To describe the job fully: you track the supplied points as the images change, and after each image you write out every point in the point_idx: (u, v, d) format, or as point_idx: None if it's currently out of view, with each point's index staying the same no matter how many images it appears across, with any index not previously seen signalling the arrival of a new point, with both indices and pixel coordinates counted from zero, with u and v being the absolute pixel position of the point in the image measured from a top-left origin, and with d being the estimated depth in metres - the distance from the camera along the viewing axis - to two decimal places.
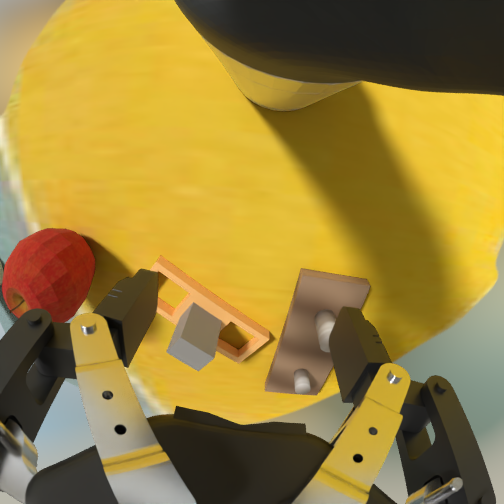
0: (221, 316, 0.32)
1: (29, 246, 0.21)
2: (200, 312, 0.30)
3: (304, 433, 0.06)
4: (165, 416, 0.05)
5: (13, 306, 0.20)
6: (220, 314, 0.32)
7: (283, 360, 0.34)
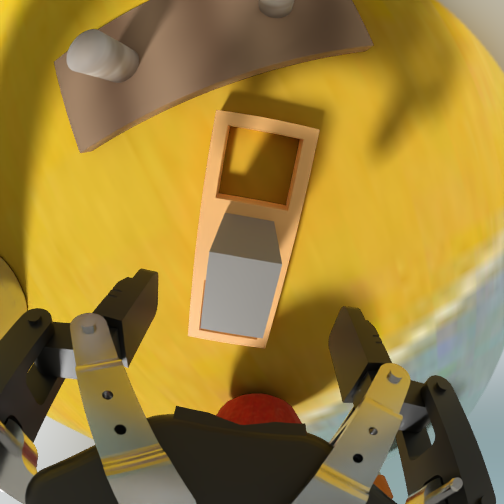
0: (215, 217, 0.17)
1: None
2: None
3: (304, 433, 0.06)
4: (165, 416, 0.05)
5: None
6: (211, 222, 0.17)
7: (257, 53, 0.13)
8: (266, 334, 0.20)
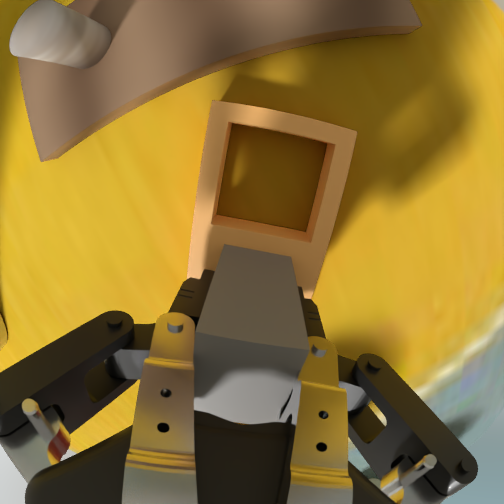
0: (211, 250, 0.13)
1: None
2: None
3: None
4: None
5: None
6: (206, 256, 0.13)
7: (271, 23, 0.08)
8: None
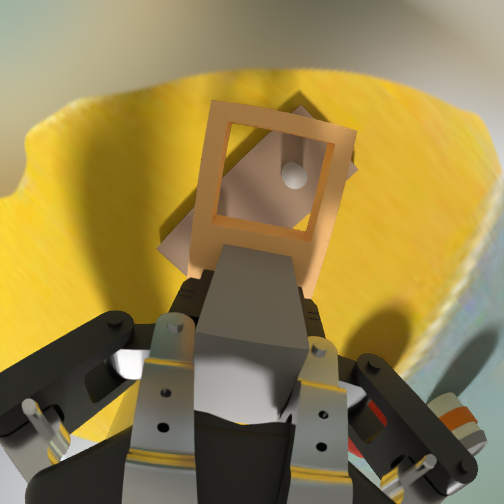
0: (211, 250, 0.13)
1: None
2: None
3: None
4: None
5: None
6: (206, 256, 0.13)
7: (295, 211, 0.26)
8: None
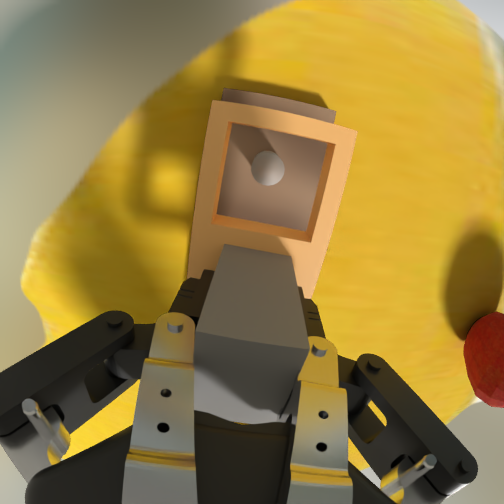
0: (211, 250, 0.13)
1: None
2: None
3: None
4: None
5: None
6: (206, 256, 0.13)
7: (301, 202, 0.20)
8: None
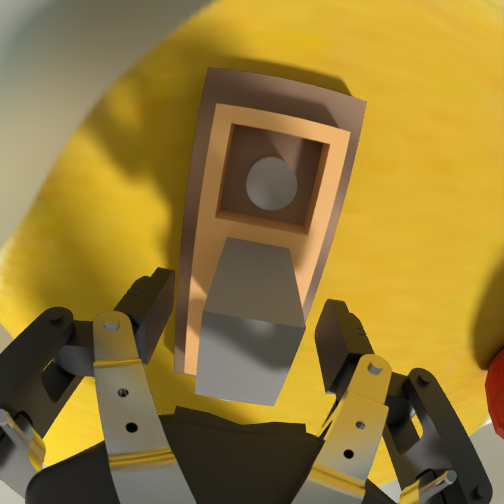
0: (215, 243, 0.13)
1: None
2: None
3: (304, 433, 0.06)
4: (165, 416, 0.05)
5: None
6: (210, 248, 0.14)
7: None
8: None
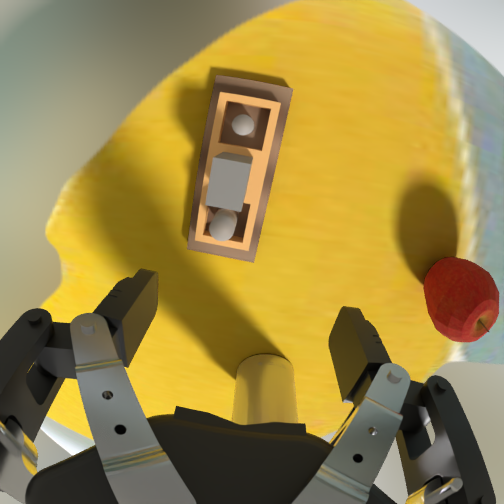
0: (217, 155, 0.27)
1: None
2: None
3: (304, 433, 0.06)
4: (165, 416, 0.05)
5: (490, 320, 0.23)
6: None
7: None
8: (249, 238, 0.30)
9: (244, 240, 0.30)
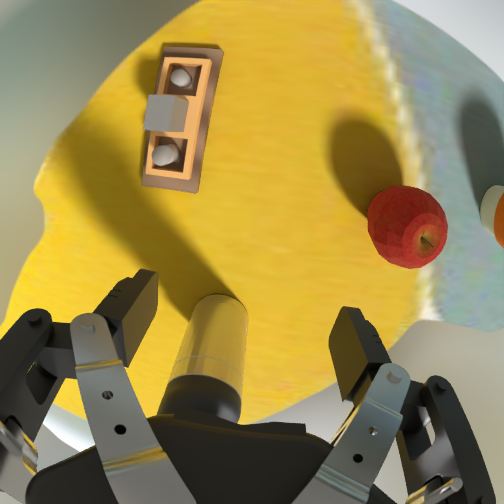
0: None
1: (399, 265, 0.32)
2: None
3: (304, 433, 0.06)
4: (165, 416, 0.05)
5: (436, 238, 0.26)
6: None
7: (204, 98, 0.32)
8: (188, 168, 0.34)
9: (184, 170, 0.34)
